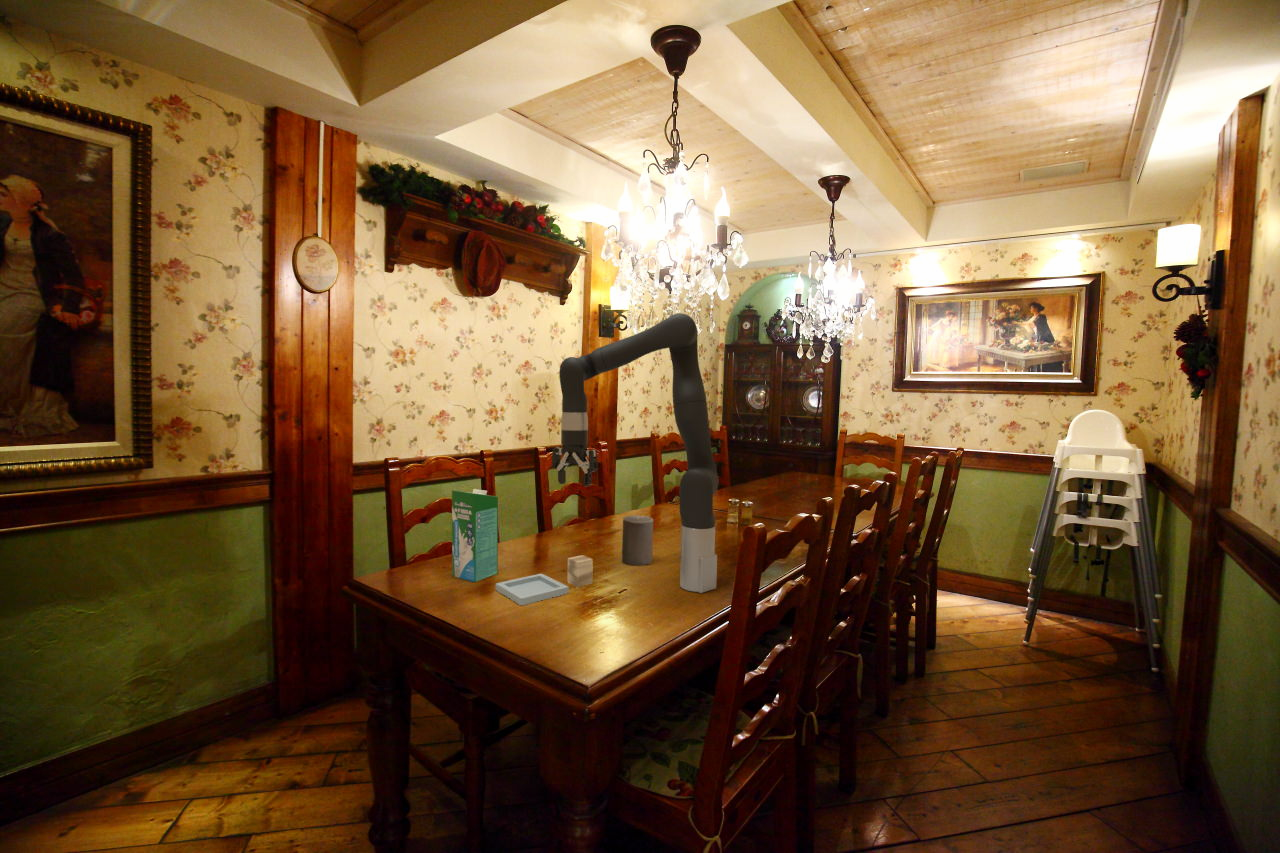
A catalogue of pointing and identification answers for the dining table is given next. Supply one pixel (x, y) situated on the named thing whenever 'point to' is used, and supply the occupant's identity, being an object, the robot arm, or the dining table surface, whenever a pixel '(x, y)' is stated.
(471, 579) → the milk carton
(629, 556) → the pillar candle
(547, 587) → the tray
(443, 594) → the dining table surface
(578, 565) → the maple block
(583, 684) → the dining table surface
